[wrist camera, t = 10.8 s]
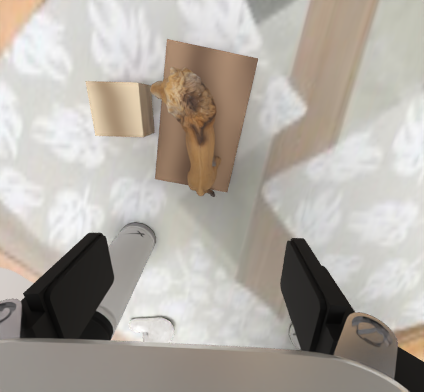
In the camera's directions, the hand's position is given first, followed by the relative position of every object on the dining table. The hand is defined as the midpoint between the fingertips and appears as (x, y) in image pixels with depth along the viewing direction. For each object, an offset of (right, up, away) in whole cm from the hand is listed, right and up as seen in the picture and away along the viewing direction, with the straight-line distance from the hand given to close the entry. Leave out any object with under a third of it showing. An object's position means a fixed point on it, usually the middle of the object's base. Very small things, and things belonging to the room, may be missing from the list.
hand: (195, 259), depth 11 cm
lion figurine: (-1, +11, +16) cm, 19 cm away
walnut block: (0, +14, +20) cm, 24 cm away
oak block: (-10, +15, +19) cm, 27 cm away
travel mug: (-12, -4, +27) cm, 30 cm away
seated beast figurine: (-11, -25, +36) cm, 45 cm away
